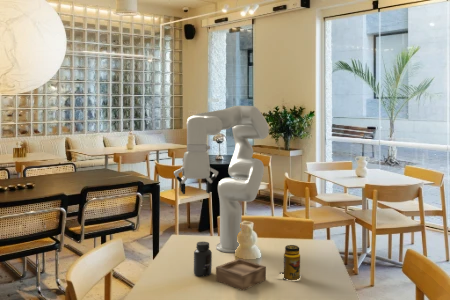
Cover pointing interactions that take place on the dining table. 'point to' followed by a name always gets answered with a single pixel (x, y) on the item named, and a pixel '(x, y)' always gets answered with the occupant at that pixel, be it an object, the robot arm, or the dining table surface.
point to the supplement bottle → (202, 259)
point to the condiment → (291, 263)
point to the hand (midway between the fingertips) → (195, 193)
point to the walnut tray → (240, 274)
